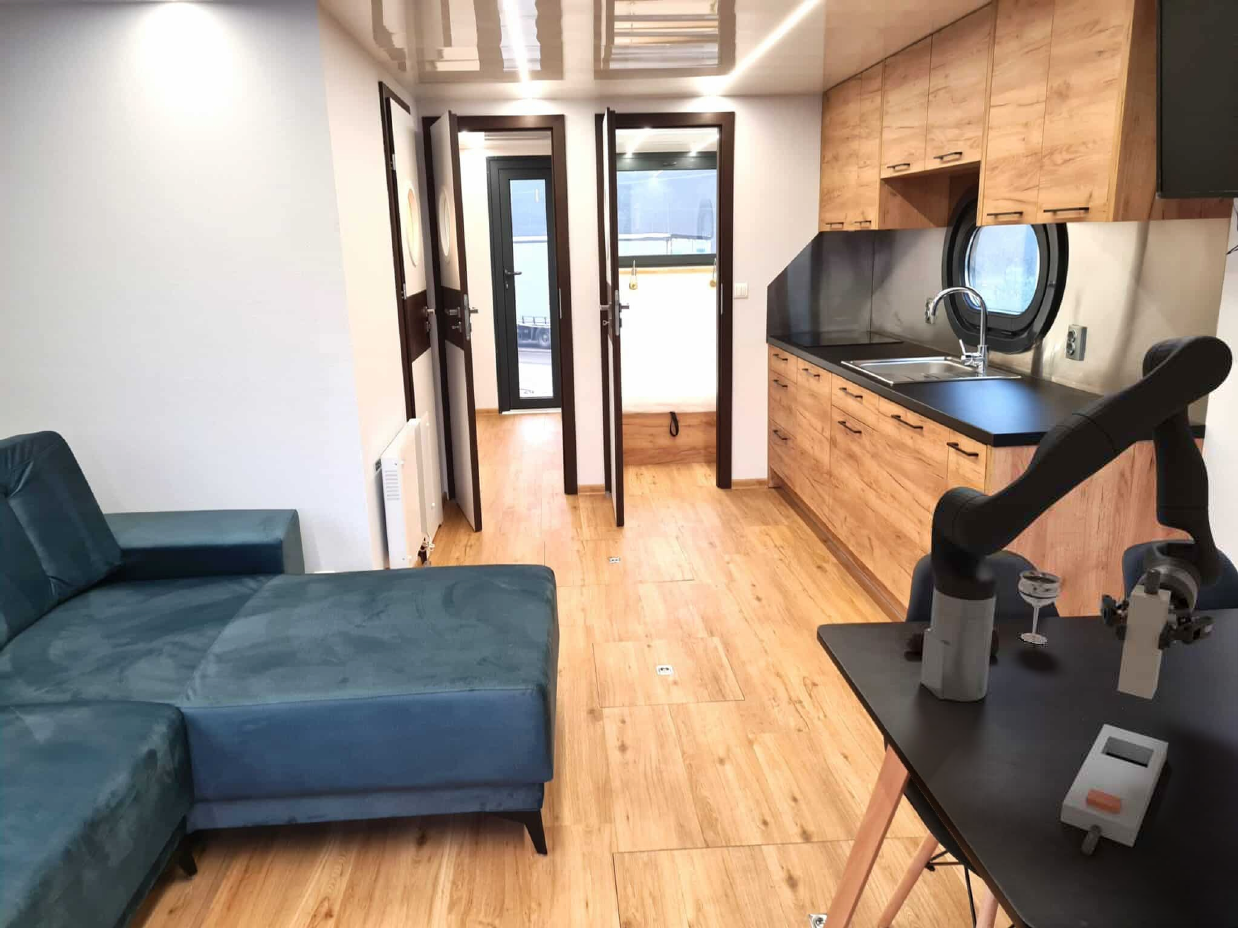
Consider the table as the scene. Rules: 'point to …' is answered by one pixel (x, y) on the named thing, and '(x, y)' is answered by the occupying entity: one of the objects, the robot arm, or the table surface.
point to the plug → (1144, 637)
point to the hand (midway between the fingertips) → (1141, 638)
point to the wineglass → (1038, 596)
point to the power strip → (1114, 787)
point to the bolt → (918, 639)
